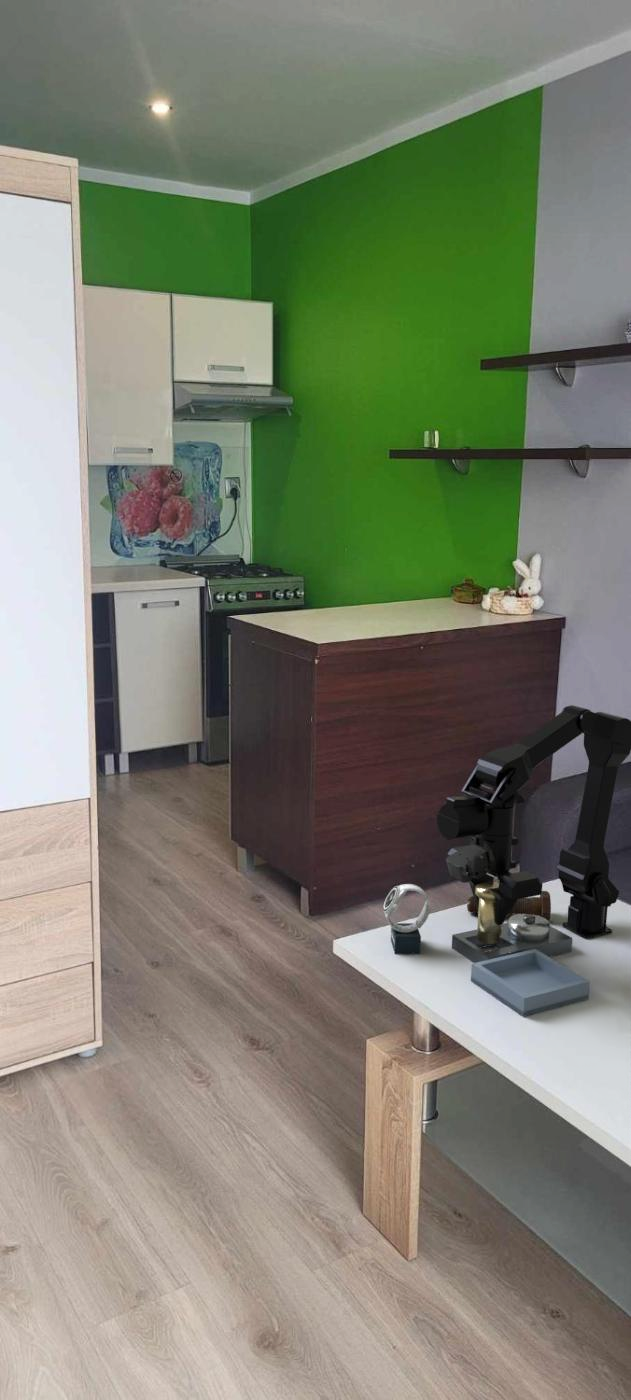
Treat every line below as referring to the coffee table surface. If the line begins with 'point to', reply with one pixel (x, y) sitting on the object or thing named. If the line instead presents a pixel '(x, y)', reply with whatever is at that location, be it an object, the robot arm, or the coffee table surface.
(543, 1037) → the coffee table surface
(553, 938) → the block
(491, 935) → the pin
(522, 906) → the bolt
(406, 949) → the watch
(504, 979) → the tray
